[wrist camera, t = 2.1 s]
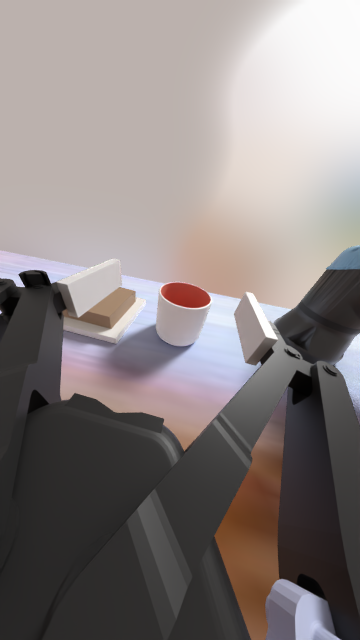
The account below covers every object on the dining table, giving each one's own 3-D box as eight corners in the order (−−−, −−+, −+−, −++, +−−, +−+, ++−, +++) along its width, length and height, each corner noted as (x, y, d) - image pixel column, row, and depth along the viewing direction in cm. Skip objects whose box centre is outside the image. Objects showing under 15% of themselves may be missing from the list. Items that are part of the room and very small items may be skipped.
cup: (187, 357, 27) (201, 317, 21) (146, 334, 30) (147, 293, 24) (204, 329, 35) (218, 293, 28) (170, 313, 37) (175, 277, 31)
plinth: (145, 304, 38) (146, 289, 36) (116, 343, 27) (113, 326, 24) (94, 291, 39) (90, 275, 36) (43, 324, 27) (31, 305, 24)
